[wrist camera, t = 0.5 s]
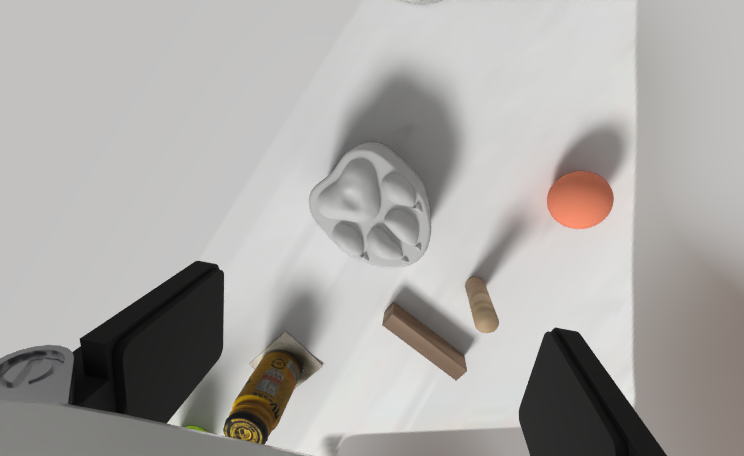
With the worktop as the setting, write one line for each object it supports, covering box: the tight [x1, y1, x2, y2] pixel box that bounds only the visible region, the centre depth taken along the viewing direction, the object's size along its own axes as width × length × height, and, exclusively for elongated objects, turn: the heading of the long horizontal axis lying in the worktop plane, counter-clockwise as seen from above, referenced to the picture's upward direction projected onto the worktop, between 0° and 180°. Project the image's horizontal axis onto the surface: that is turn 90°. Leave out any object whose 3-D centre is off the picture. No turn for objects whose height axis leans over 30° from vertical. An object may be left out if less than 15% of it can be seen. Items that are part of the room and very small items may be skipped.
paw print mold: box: [309, 142, 431, 268], centre depth 40 cm, size 10×13×9 cm
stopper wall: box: [382, 303, 467, 380], centre depth 47 cm, size 2×12×3 cm, turn 52°
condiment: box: [223, 332, 323, 445], centre depth 48 cm, size 7×8×12 cm
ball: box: [547, 171, 614, 229], centre depth 38 cm, size 6×6×6 cm
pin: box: [465, 277, 499, 333], centre depth 42 cm, size 2×2×8 cm
